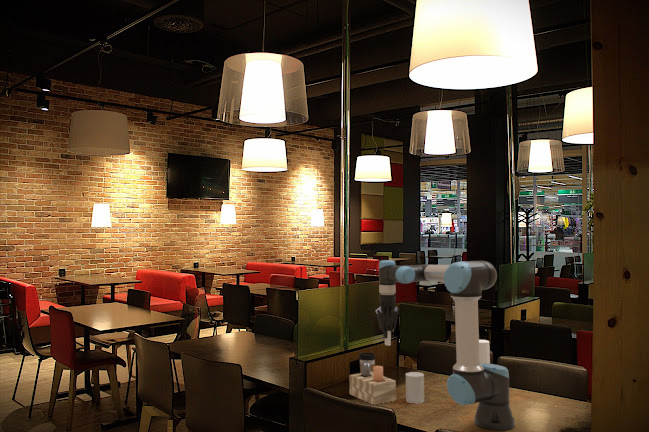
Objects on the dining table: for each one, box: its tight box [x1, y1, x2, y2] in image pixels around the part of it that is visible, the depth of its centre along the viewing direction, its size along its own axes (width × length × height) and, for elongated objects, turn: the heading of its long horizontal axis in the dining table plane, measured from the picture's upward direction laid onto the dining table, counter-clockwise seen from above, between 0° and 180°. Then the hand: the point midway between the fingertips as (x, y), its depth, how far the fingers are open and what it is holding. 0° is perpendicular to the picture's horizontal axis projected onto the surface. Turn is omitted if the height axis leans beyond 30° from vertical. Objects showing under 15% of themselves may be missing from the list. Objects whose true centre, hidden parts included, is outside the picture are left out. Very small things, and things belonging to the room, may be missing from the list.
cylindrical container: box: [479, 339, 491, 364], centre depth 258 cm, size 7×7×25 cm
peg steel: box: [360, 362, 371, 377], centre depth 261 cm, size 4×4×9 cm
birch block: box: [348, 372, 397, 406], centre depth 256 cm, size 20×12×9 cm, turn 31°
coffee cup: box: [358, 352, 376, 372], centre depth 280 cm, size 8×8×15 cm
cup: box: [405, 371, 425, 405], centre depth 250 cm, size 8×8×12 cm
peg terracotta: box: [373, 365, 384, 382], centre depth 252 cm, size 4×4×9 cm
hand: (387, 345), depth 255 cm, fingers closed
